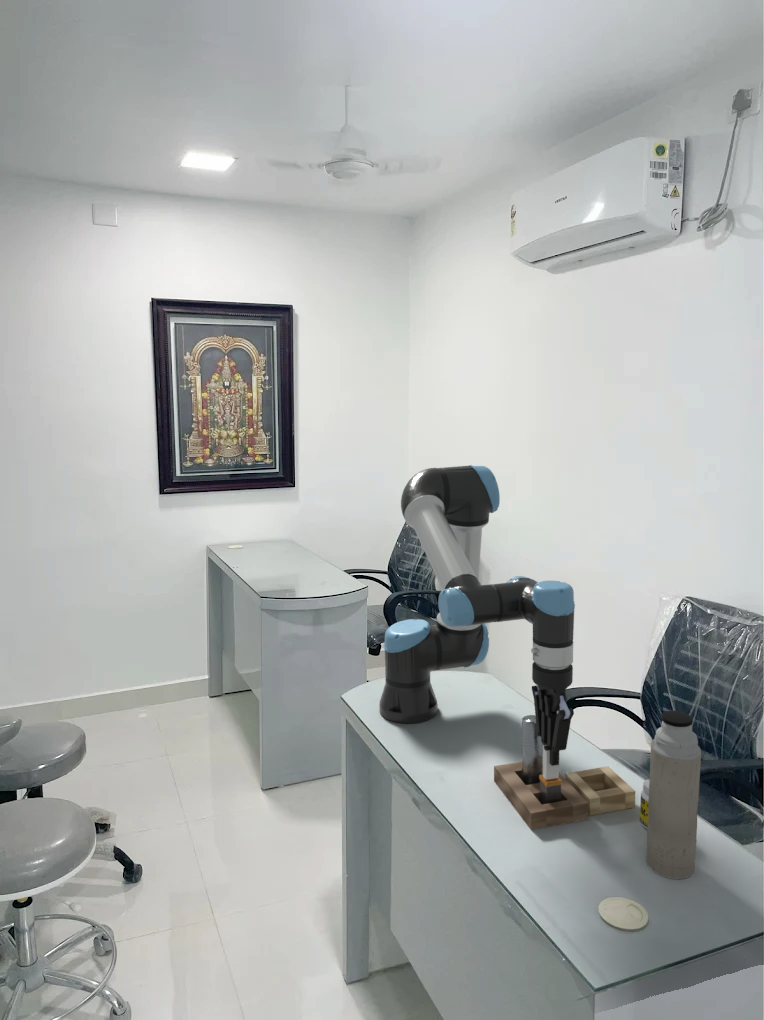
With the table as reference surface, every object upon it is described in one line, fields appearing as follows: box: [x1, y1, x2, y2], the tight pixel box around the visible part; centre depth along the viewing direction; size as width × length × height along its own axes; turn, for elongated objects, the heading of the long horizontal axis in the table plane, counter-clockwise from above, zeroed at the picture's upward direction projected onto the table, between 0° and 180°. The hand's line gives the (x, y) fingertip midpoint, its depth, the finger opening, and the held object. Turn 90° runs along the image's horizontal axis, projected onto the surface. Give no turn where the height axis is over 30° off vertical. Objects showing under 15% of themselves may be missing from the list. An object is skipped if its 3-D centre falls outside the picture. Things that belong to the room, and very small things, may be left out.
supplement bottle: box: [639, 778, 650, 830], centre depth 140 cm, size 5×5×8 cm
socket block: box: [493, 761, 589, 831], centre depth 150 cm, size 18×12×4 cm, turn 14°
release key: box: [539, 774, 562, 805], centre depth 145 cm, size 3×3×7 cm
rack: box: [564, 765, 636, 816], centre depth 150 cm, size 10×10×4 cm
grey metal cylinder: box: [521, 714, 543, 785], centre depth 152 cm, size 4×4×16 cm
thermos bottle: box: [645, 710, 702, 880], centre depth 127 cm, size 8×8×28 cm
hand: (550, 776), depth 144 cm, fingers closed
